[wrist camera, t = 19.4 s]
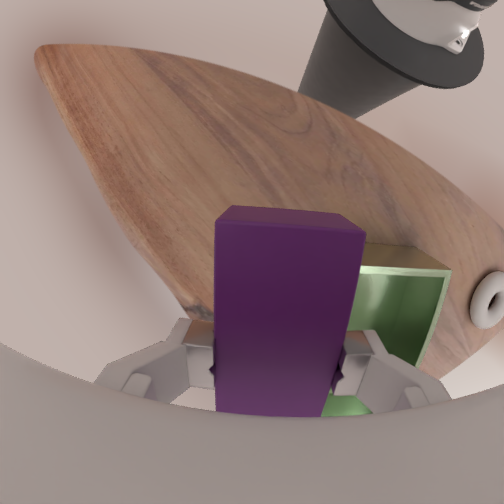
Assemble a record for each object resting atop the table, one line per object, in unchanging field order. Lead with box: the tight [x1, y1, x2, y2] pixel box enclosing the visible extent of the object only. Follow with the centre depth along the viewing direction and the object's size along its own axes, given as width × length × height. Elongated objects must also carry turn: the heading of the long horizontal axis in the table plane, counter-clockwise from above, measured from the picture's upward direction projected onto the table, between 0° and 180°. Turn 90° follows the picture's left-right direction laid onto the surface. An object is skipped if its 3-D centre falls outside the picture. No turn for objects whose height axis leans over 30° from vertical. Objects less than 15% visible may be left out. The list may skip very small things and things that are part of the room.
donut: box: [470, 271, 504, 329], centre depth 31 cm, size 10×4×10 cm
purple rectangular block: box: [214, 205, 366, 417], centre depth 10 cm, size 9×4×3 cm, turn 177°
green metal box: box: [329, 243, 452, 393], centre depth 30 cm, size 16×14×9 cm
